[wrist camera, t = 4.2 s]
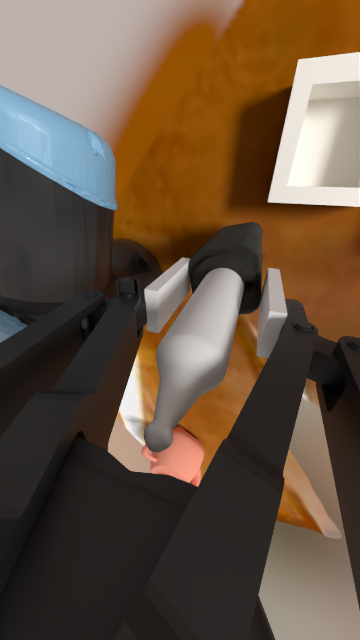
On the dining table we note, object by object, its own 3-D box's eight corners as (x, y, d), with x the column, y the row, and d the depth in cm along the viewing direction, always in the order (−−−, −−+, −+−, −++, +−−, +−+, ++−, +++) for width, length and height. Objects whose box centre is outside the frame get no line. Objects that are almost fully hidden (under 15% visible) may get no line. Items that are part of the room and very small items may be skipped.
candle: (217, 227, 26) (41, 369, 5) (262, 220, 24) (248, 395, 4) (221, 269, 28) (108, 474, 8) (262, 265, 26) (255, 524, 6)
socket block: (267, 200, 26) (267, 202, 22) (292, 84, 21) (298, 59, 17) (362, 204, 24) (381, 207, 20) (418, 73, 18) (460, 40, 14)
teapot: (197, 463, 65) (184, 511, 56) (146, 424, 64) (124, 467, 54) (226, 454, 57) (217, 508, 48) (169, 409, 56) (149, 456, 46)
